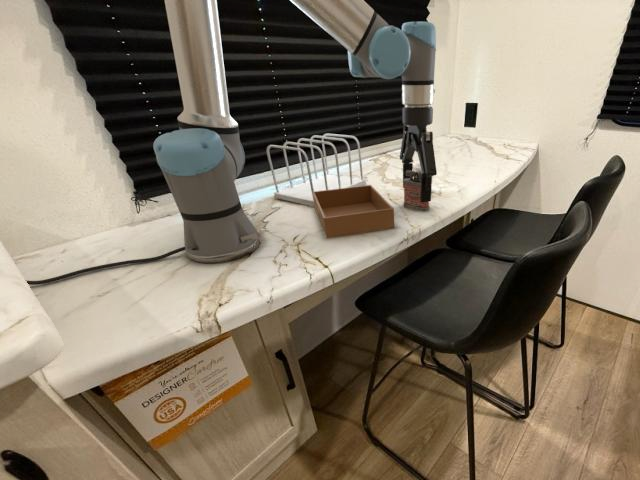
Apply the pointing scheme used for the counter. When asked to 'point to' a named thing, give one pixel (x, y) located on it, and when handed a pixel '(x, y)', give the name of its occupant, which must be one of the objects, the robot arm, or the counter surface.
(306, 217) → the counter surface
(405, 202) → the lighter
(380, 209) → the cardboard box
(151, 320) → the counter surface
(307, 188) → the file sorter
